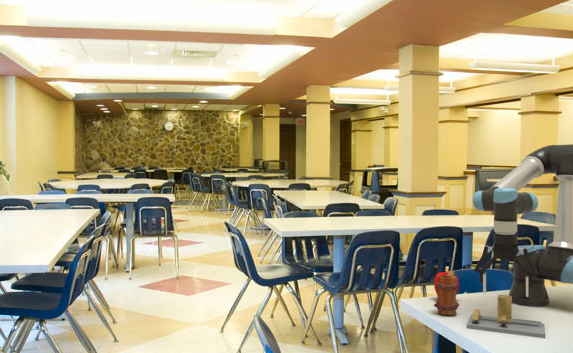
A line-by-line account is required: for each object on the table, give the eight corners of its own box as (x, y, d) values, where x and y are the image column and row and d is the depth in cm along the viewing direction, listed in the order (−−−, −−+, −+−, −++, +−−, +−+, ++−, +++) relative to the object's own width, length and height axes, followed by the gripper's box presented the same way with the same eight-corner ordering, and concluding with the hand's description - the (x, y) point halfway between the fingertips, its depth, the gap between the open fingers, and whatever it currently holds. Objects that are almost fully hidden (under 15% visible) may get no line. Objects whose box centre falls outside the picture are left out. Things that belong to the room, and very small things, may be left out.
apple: (445, 296, 223) (446, 267, 223) (464, 301, 215) (464, 271, 215) (428, 299, 218) (429, 270, 218) (447, 304, 210) (447, 274, 210)
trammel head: (511, 320, 183) (511, 296, 183) (510, 327, 175) (511, 301, 175) (498, 318, 185) (498, 294, 185) (496, 325, 177) (496, 300, 177)
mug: (454, 318, 190) (454, 277, 190) (432, 315, 195) (432, 274, 194) (464, 309, 203) (464, 270, 203) (442, 306, 207) (443, 268, 207)
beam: (541, 325, 178) (541, 316, 178) (541, 331, 171) (541, 322, 171) (472, 317, 187) (472, 308, 187) (470, 323, 181) (470, 313, 181)
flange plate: (544, 327, 181) (544, 323, 181) (545, 338, 169) (545, 334, 169) (470, 318, 191) (470, 314, 191) (466, 328, 179) (466, 324, 179)
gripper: (545, 233, 180) (545, 294, 181) (468, 230, 190) (468, 288, 191) (546, 236, 173) (546, 300, 174) (466, 232, 184) (466, 293, 184)
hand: (505, 294), depth 182 cm, fingers open, 13 cm apart
